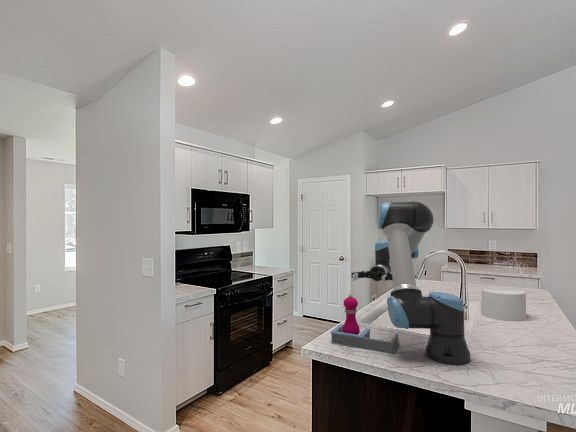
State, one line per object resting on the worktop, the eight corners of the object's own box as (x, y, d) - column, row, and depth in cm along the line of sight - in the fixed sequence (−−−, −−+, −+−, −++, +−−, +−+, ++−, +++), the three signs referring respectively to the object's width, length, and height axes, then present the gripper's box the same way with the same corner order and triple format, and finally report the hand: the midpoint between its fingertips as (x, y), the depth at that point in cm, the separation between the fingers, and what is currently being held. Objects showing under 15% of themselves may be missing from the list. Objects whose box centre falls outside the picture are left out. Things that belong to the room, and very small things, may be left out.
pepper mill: (360, 344, 139) (359, 295, 139) (342, 343, 141) (341, 295, 141) (359, 337, 146) (358, 292, 147) (343, 337, 148) (342, 291, 148)
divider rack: (398, 343, 139) (398, 332, 139) (392, 353, 129) (392, 341, 129) (340, 334, 151) (340, 324, 151) (330, 343, 141) (330, 332, 141)
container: (514, 310, 183) (514, 286, 183) (534, 322, 163) (534, 294, 164) (475, 309, 187) (474, 285, 187) (490, 320, 167) (489, 293, 167)
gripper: (403, 281, 167) (395, 289, 148) (355, 278, 179) (341, 285, 160) (403, 266, 167) (395, 271, 148) (354, 264, 179) (341, 269, 160)
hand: (367, 278), depth 154 cm, fingers open, 13 cm apart
